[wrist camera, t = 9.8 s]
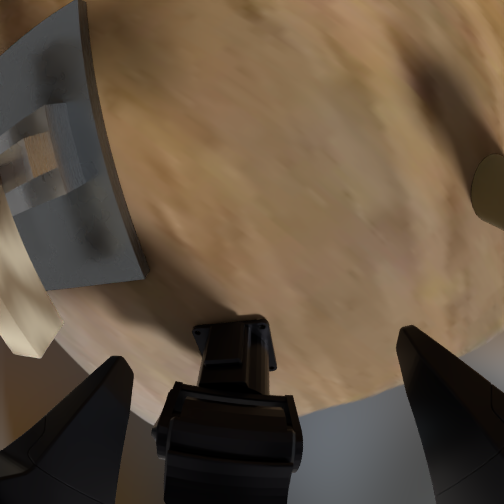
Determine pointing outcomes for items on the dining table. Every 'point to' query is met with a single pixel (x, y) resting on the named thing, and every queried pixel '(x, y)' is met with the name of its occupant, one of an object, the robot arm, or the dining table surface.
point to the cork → (489, 190)
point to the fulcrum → (63, 159)
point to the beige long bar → (22, 294)
